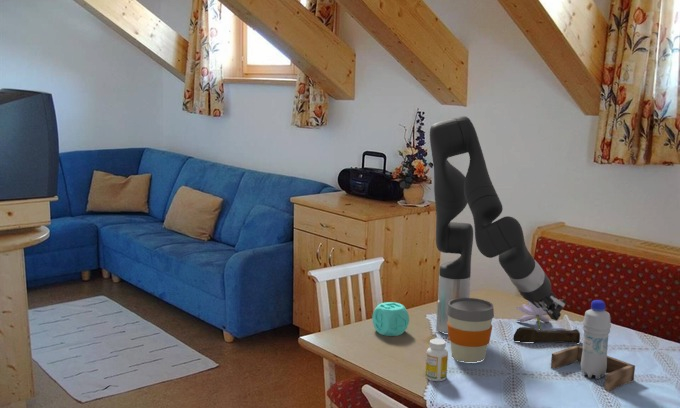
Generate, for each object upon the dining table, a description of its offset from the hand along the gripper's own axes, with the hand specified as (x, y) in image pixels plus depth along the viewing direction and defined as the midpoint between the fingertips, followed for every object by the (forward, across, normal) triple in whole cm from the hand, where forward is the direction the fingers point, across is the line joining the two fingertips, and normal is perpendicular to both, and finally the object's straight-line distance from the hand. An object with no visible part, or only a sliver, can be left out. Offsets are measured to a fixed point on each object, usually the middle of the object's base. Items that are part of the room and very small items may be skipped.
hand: (556, 316), depth 175 cm
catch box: (+19, +5, -4) cm, 20 cm away
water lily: (+34, -28, +8) cm, 45 cm away
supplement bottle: (-5, -16, -29) cm, 34 cm away
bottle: (+19, +5, -4) cm, 20 cm away
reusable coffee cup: (+7, -21, -18) cm, 29 cm away
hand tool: (+26, -16, +1) cm, 31 cm away
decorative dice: (+5, -49, -22) cm, 54 cm away
